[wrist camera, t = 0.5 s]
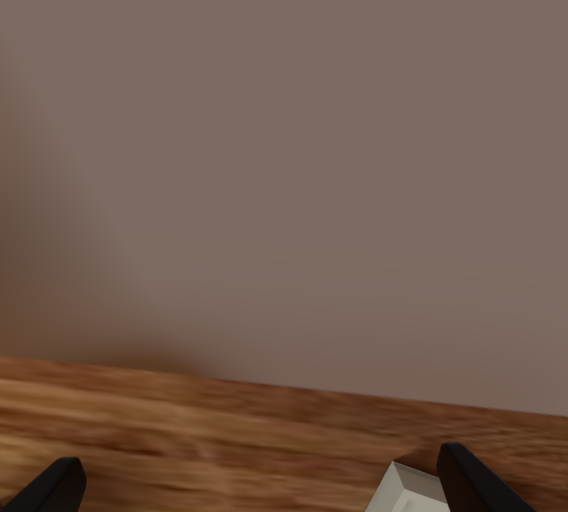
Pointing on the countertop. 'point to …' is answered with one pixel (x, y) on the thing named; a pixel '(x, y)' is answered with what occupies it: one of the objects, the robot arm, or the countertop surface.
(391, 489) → the bin
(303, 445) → the countertop surface
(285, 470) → the countertop surface
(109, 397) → the countertop surface
